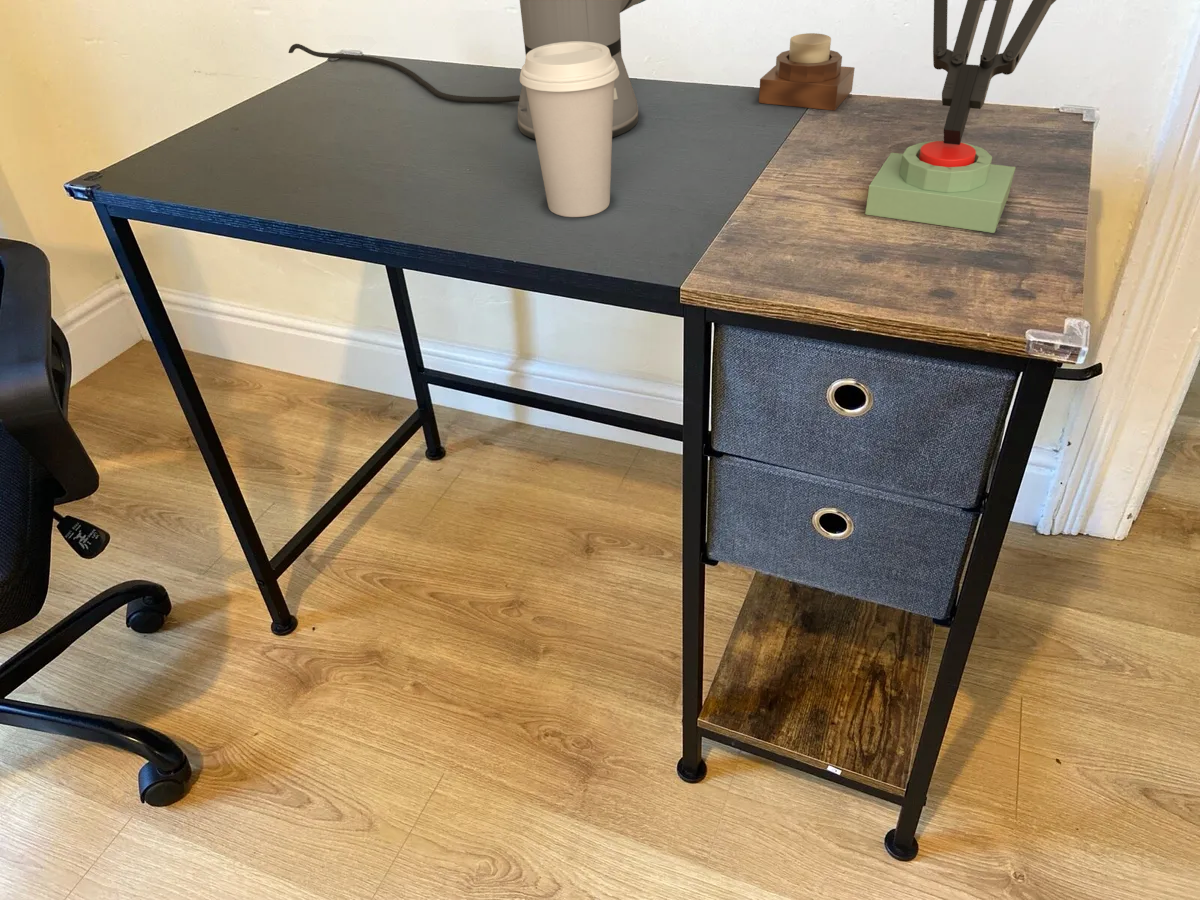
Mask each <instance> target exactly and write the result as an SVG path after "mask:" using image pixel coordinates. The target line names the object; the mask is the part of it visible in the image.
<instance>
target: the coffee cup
mask: <svg viewBox="0 0 1200 900" xmlns="http://www.w3.org/2000/svg"><path fill="white" fill-rule="evenodd" d="M524 59H525V61H524V63H523V65H522V66H521V70H520V74H519V82H520V84H521V86H522V85H524V86H525V87H526V92H527V97H528V102H529V107H530V112H531V117H532V122H533V128H534V133H535V138H536V139H535V144H536V148H537V155H538V160H539V164H540V170H541V176H542V181H543V186H544V191H545V192H544V193H545V197H546V202H547V207H548V210H550V211H551V213H553V214H555V215H557V216H561V217H565V218H583V217H590V216H593V215H597V214H599V213H602V212H604V211H605V210H607V208H608V207H609V206H610V205H611V204H610V203H611V178H612V151H613V150H612V148H613V137H612V125H613V100H614V80H615V79H616V78H617V77H618V76H619V70H618V66H617V64H616V62H615V60H614V59H613V58H612V57H611V54H610V50H609V48H608V47H606V46H605V45H602V44H599V43H594V42H583V41H572V42H560V43H553V44H548V45H544V46H540V47H537V48H535V49H533V50H531V51H529V52H528V53H527V55H526V54H525V58H524Z"/></svg>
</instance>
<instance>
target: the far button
mask: <svg viewBox="0 0 1200 900" xmlns="http://www.w3.org/2000/svg"><path fill="white" fill-rule="evenodd" d="M831 44H832V38H831V36H830V35H827V34H823V33H815V32H809V33H807V32H806V33H798V34H796V35H793V36H791V37H790V39H789V60H790V61H793V62H798V63H820V62H824V61H828V60H829V55H830V50H831V46H832V45H831Z"/></svg>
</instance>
